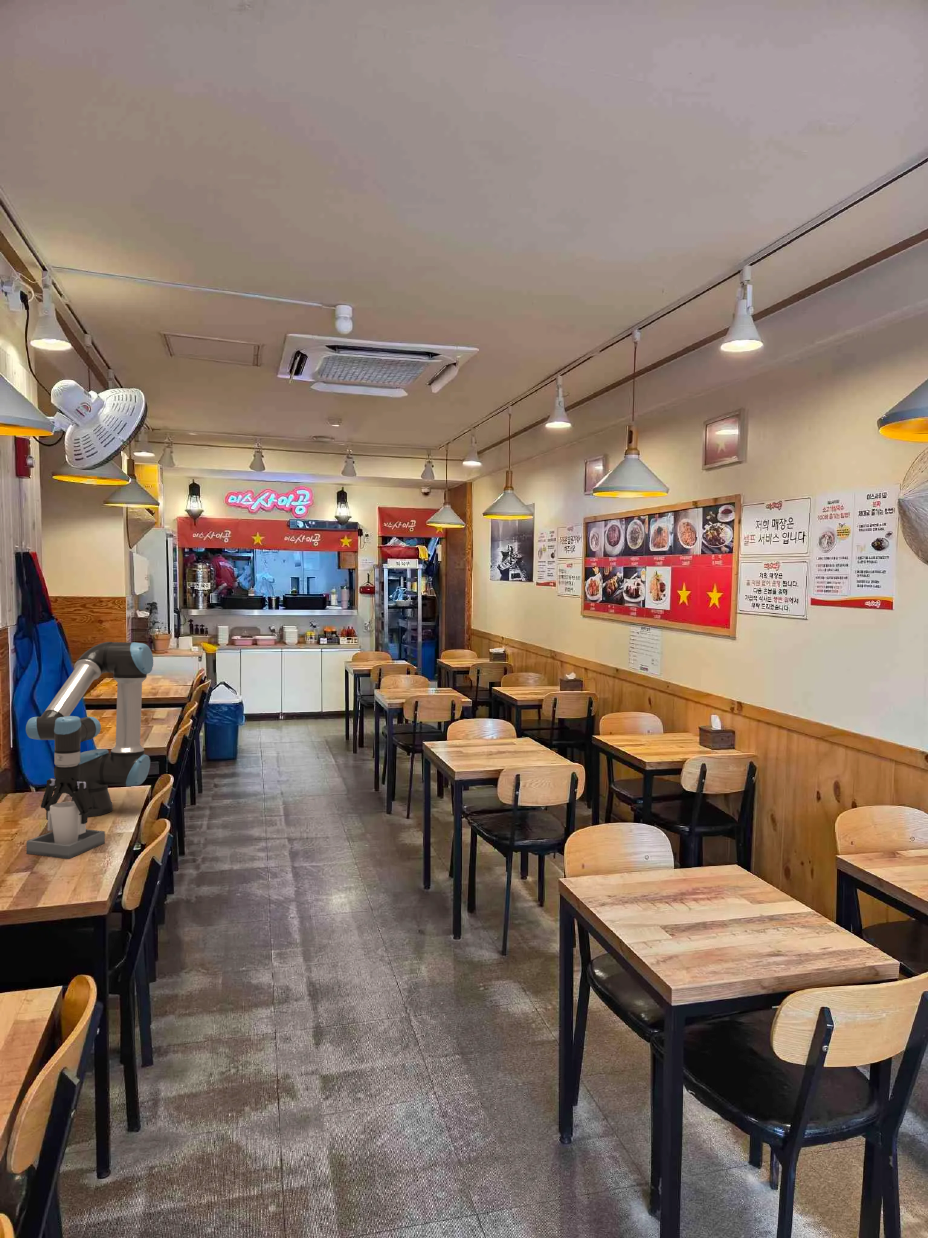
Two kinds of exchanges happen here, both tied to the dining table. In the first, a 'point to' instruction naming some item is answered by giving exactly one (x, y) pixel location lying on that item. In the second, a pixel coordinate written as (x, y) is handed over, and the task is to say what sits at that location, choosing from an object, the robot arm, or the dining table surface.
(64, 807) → the foam cup
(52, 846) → the tray
